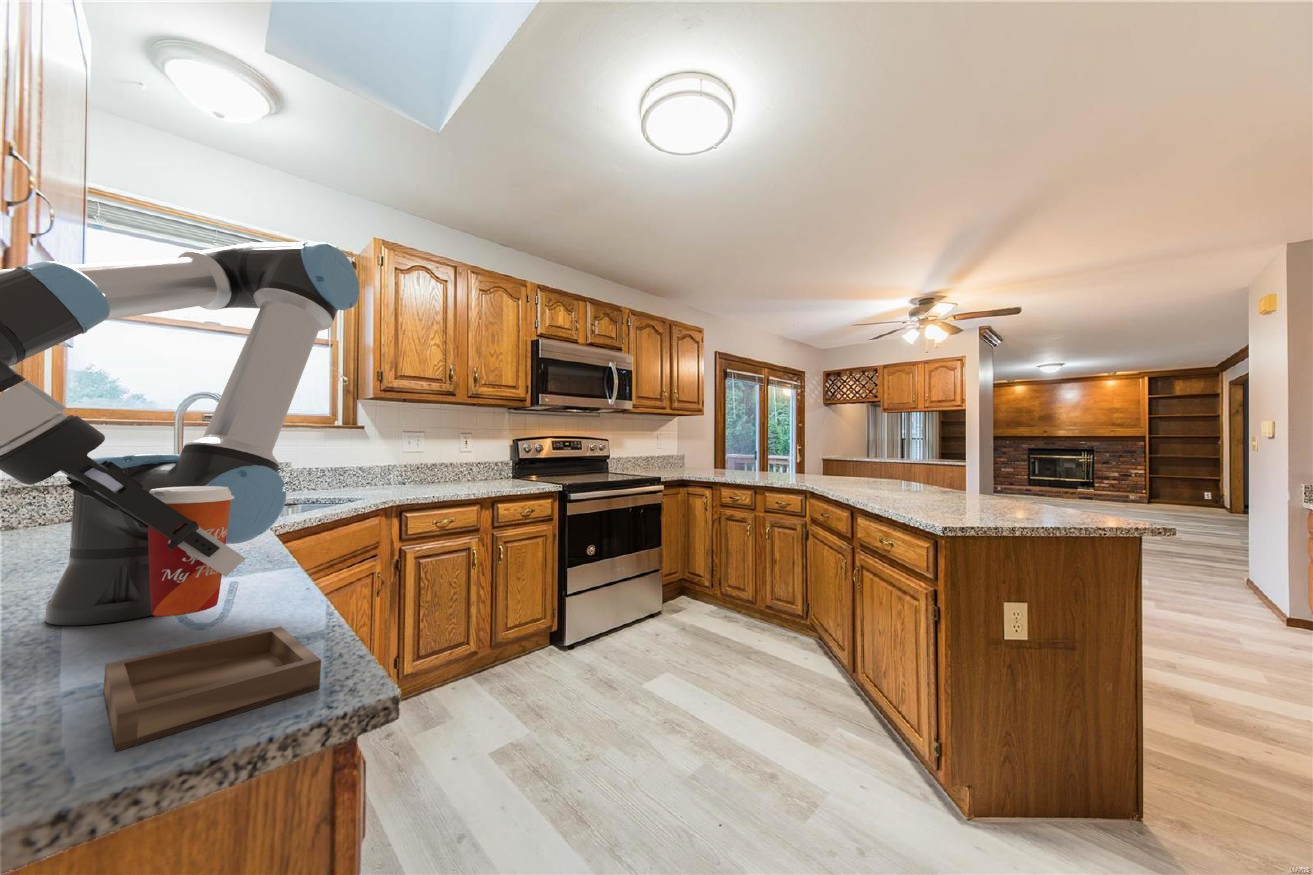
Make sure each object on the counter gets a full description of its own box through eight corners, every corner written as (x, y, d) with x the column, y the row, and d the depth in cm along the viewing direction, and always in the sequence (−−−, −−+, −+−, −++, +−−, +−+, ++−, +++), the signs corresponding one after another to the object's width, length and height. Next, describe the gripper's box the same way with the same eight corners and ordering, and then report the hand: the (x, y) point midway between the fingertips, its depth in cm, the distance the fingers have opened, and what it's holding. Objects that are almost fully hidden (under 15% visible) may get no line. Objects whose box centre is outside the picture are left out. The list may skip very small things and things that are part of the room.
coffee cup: (172, 622, 55) (178, 492, 56) (118, 615, 57) (125, 489, 57) (247, 600, 64) (252, 487, 64) (198, 595, 65) (203, 484, 66)
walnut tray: (103, 693, 49) (105, 663, 49) (279, 650, 60) (280, 626, 60) (115, 752, 40) (117, 714, 40) (319, 688, 51) (321, 659, 51)
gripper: (-22, 456, 54) (171, 572, 67) (-8, 465, 42) (222, 603, 55) (57, 413, 58) (223, 529, 71) (88, 409, 47) (280, 549, 60)
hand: (223, 561), depth 63 cm, fingers closed on coffee cup, 8 cm apart
